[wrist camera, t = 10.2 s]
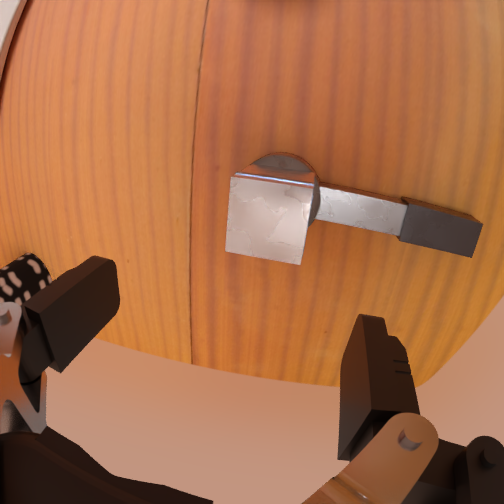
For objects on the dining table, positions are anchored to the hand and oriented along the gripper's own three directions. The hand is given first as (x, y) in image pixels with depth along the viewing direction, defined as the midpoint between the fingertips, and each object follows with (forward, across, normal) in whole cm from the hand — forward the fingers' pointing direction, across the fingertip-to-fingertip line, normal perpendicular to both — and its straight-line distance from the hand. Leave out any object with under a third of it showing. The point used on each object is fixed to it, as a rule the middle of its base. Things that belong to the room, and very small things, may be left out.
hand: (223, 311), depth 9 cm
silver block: (+17, 0, +1) cm, 17 cm away
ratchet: (+20, -7, +1) cm, 21 cm away
